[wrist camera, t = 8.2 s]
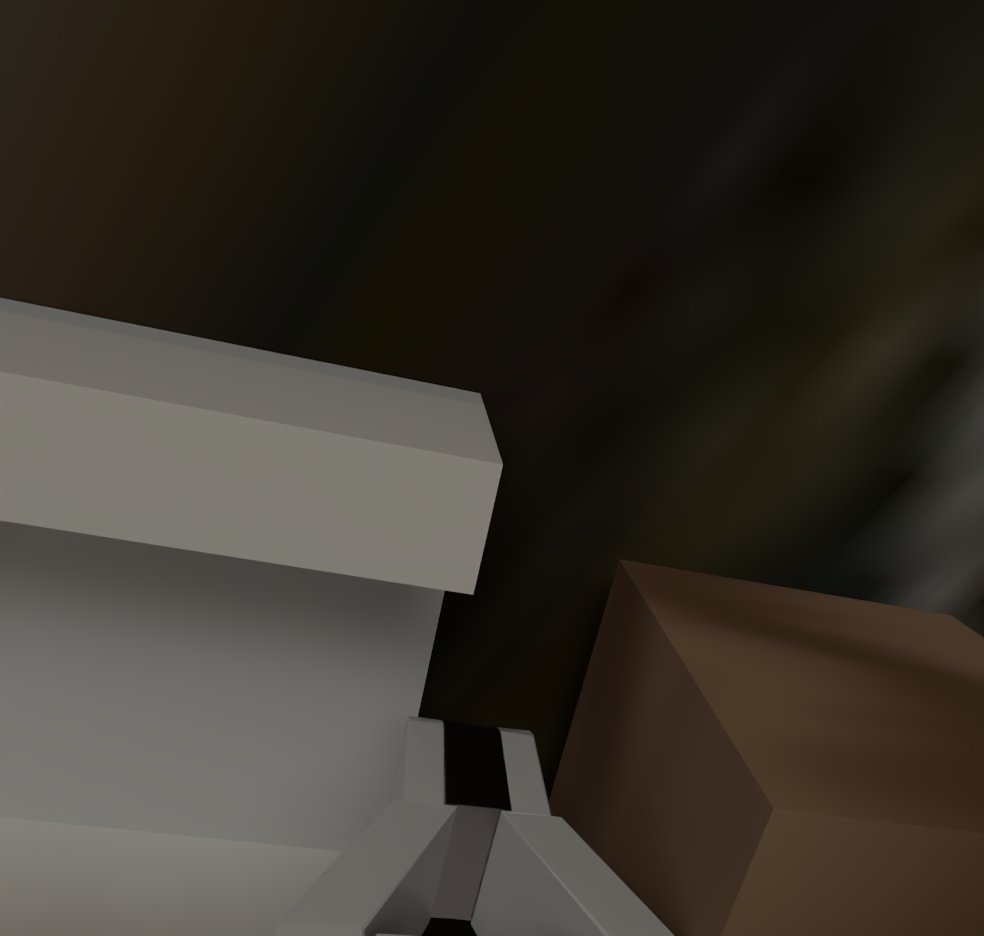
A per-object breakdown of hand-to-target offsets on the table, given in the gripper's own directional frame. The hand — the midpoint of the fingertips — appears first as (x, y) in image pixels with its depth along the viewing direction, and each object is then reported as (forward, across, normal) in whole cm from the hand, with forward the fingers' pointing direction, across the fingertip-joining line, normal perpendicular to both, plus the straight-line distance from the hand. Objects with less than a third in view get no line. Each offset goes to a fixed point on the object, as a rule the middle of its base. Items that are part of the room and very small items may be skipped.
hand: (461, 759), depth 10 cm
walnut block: (+1, -5, 0) cm, 5 cm away
